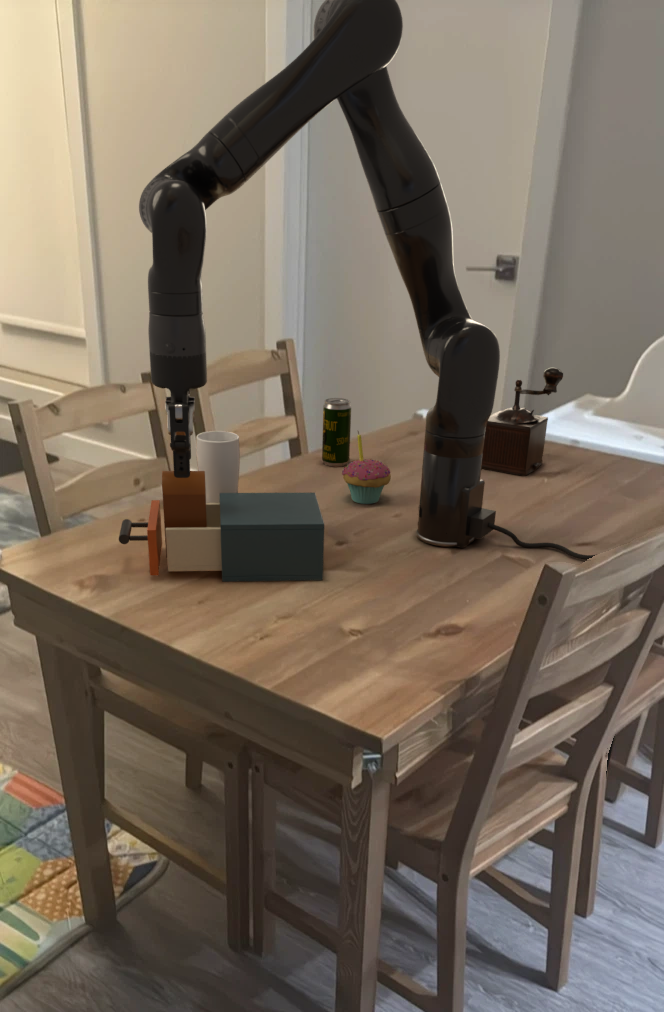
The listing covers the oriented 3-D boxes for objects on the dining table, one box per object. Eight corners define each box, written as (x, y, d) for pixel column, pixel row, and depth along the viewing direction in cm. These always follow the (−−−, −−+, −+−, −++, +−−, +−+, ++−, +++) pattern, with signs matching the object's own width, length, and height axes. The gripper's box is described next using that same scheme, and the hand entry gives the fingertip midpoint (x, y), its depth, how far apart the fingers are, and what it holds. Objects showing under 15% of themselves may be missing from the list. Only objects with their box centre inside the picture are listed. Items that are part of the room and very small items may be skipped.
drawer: (119, 575, 141) (115, 530, 137) (125, 543, 152) (122, 500, 148) (244, 574, 143) (244, 529, 139) (242, 542, 154) (241, 499, 150)
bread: (207, 545, 149) (204, 466, 143) (207, 557, 145) (204, 476, 139) (167, 545, 148) (162, 466, 142) (166, 557, 144) (161, 476, 138)
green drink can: (333, 457, 198) (335, 396, 192) (354, 463, 195) (357, 401, 189) (316, 463, 194) (317, 400, 188) (337, 468, 191) (339, 405, 185)
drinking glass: (234, 537, 158) (232, 443, 150) (193, 533, 159) (189, 439, 151) (245, 523, 163) (244, 432, 156) (206, 519, 164) (203, 428, 157)
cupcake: (334, 503, 174) (336, 434, 168) (351, 489, 181) (354, 423, 174) (380, 510, 171) (384, 441, 165) (396, 496, 178) (400, 429, 172)
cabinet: (222, 581, 142) (220, 524, 138) (221, 546, 154) (219, 492, 150) (322, 580, 144) (324, 523, 139) (314, 545, 156) (315, 492, 151)
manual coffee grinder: (528, 477, 190) (541, 380, 181) (475, 467, 195) (485, 373, 186) (554, 458, 202) (567, 367, 193) (503, 449, 207) (514, 360, 197)
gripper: (205, 359, 126) (209, 483, 135) (206, 339, 138) (209, 454, 147) (146, 358, 125) (153, 483, 134) (151, 338, 138) (158, 454, 146)
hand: (182, 468), depth 140 cm, fingers open, 8 cm apart
